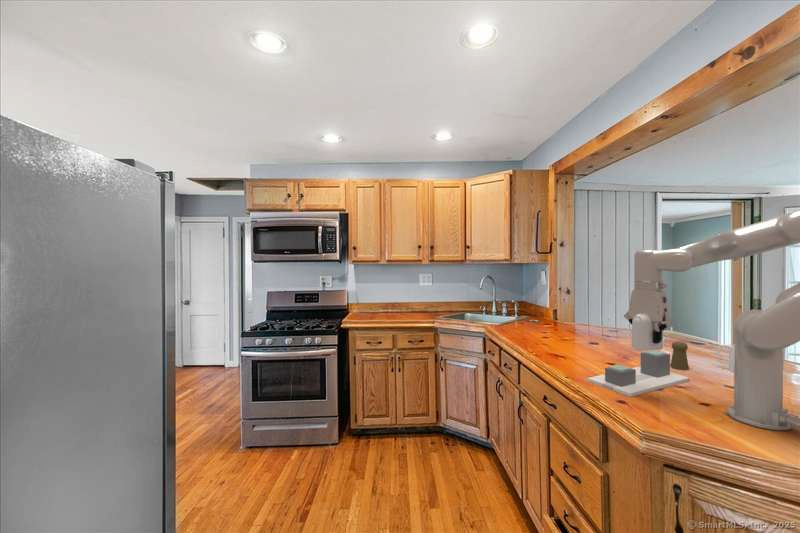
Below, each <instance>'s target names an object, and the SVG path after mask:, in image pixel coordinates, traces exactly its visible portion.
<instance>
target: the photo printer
mask: <svg viewBox="0 0 800 533" xmlns="http://www.w3.org/2000/svg"><path fill="white" fill-rule="evenodd" d="M662 324H664V321H662ZM631 326H632V327H631V348H632V349H633V351H636V352H637V351H638V352H647V351H652V350H655V351H658V350H663V349H664V330H663V331H662V341H661V342H660V343H657V344H655V343H653V331H655V328H654V324H653V322H651V321H650V318H649V317H648V316H647V315H646V314H641V313H640V314H638V315H636V316H634V317H633V319H632V324H631Z"/></svg>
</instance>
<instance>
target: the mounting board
mask: <svg viewBox="0 0 800 533" xmlns="http://www.w3.org/2000/svg"><path fill="white" fill-rule="evenodd" d="M670 366H671V354H670V353H667V352H664V351H658V350H647V351H641V352H640V366H635V367H629V366H626V365H621V364H616V365H612V366H608V367H607V366H606V367H604V373H603V374H599V375H596V376H595V375H593V376H591V377H587V378H586V381H587V382H588V383H591V384H594V385H597V386H599V387H601V388H605V389H607V390H611V391H614V392H615V391H616V392H615V393H618V394H620V395H624V396H626V397H628V398H629V397H630V398H631V397H636V396H639V395H643V394H646V393H651V392H654V391H658V390H661V389H664V388H668V387H671V386H675V385H679V384H683V383H687V382H690V377H688V376H685V375H682V374H677V373H674V372H671V367H670Z"/></svg>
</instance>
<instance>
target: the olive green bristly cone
mask: <svg viewBox="0 0 800 533" xmlns="http://www.w3.org/2000/svg"><path fill="white" fill-rule="evenodd" d="M688 346H689V345H688V344H687V343H686V342H684V341H673V342H672V343H671V348H672V349H673V351H672V354H671V359H670V369H675V370H677V371H678V370H679V371H689V364H688V362H689V361H688V356H687V350H688Z"/></svg>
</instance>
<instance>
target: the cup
mask: <svg viewBox="0 0 800 533" xmlns="http://www.w3.org/2000/svg"><path fill="white" fill-rule="evenodd" d="M721 347H723V348H726V349H728V352H729V353H728V355H729V356H728V358H729V359H728V360H722V359H721V355H720V351H721ZM716 356H717V357H716V358H717V361H718V362H719V363H721V364H727V365H728V370H729V372H731V373H733V374H734V362H735V346H734V344H730V345H725V344H719V345H718V346H717V349H716Z"/></svg>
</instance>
